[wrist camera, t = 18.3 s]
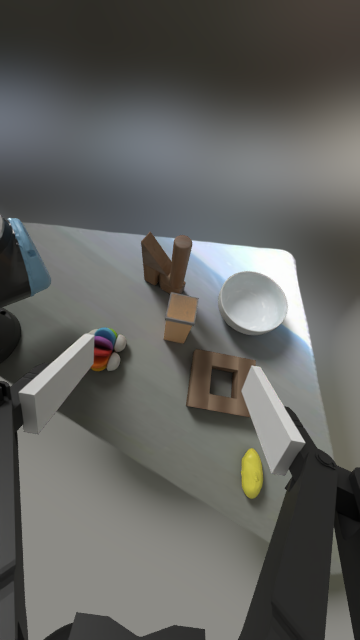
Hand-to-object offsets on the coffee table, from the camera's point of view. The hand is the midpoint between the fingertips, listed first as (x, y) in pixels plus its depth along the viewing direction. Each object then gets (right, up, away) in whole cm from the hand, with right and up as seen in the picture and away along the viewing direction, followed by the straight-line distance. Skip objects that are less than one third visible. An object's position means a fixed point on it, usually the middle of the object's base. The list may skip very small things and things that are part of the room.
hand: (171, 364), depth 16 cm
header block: (+10, -11, +29) cm, 33 cm away
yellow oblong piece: (+14, -27, +23) cm, 38 cm away
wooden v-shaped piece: (-4, +13, +38) cm, 40 cm away
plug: (0, +1, +33) cm, 33 cm away
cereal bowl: (+18, +6, +37) cm, 42 cm away
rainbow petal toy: (-17, -4, +29) cm, 34 cm away
